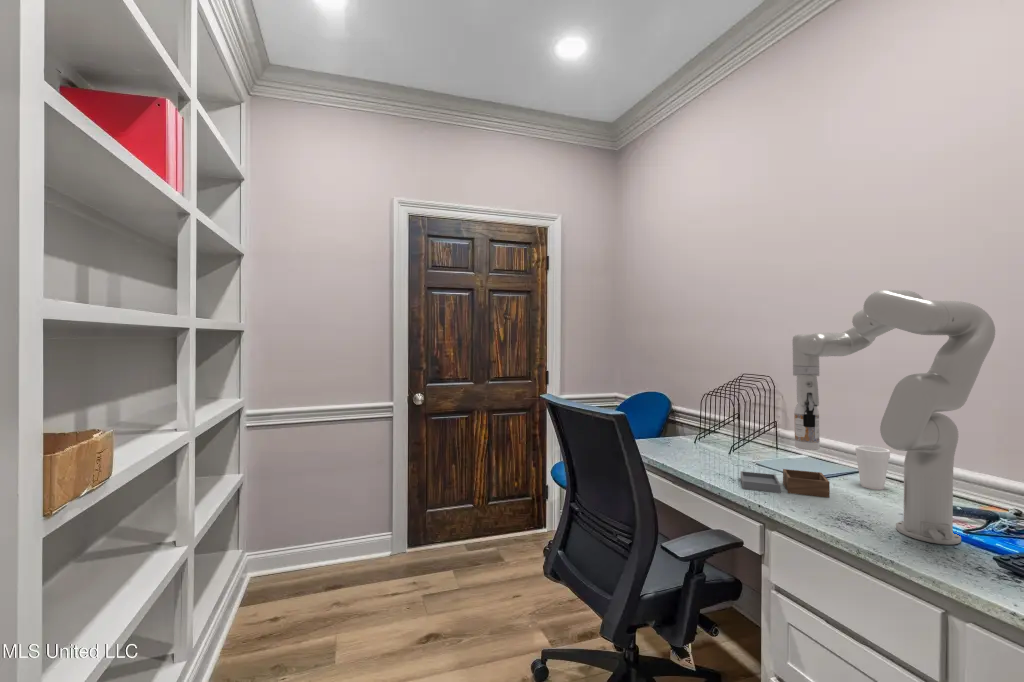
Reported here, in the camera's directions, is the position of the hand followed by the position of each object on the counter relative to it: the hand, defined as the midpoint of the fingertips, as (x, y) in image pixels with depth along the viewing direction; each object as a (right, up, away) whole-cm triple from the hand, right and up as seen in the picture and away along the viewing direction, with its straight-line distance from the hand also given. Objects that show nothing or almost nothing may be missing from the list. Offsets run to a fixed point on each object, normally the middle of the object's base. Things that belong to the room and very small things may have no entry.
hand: (806, 424), depth 157 cm
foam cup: (+25, -22, +4) cm, 34 cm away
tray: (-13, -22, +6) cm, 26 cm away
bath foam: (0, -8, 0) cm, 8 cm away
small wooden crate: (0, -22, +1) cm, 22 cm away
